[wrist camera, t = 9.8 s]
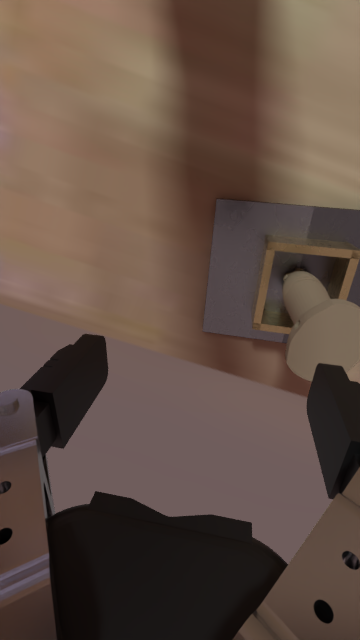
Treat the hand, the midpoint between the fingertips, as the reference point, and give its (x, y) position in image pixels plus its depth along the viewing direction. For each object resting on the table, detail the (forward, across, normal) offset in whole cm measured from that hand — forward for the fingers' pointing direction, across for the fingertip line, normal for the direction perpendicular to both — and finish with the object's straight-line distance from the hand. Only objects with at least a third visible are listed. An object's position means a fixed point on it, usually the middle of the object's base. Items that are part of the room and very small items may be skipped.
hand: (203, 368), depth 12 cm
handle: (+26, -8, +5) cm, 27 cm away
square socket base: (+26, -8, +5) cm, 28 cm away
